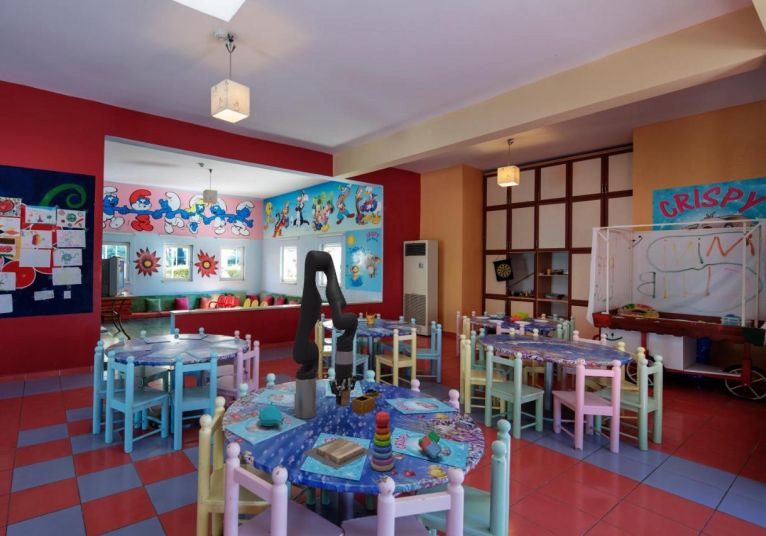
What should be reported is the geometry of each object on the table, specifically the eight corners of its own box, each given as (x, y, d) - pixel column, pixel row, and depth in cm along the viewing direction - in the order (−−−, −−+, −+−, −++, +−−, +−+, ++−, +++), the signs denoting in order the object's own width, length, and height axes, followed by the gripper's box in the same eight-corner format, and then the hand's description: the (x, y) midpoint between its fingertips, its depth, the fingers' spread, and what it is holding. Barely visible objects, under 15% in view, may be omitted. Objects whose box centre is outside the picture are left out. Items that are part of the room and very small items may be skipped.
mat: (302, 454, 148) (302, 452, 148) (339, 438, 161) (339, 437, 161) (336, 471, 136) (336, 469, 136) (373, 453, 150) (373, 451, 150)
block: (335, 404, 168) (336, 390, 168) (343, 402, 171) (343, 388, 171) (342, 407, 166) (343, 392, 166) (349, 404, 169) (350, 390, 169)
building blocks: (432, 463, 152) (434, 457, 142) (417, 446, 156) (417, 439, 146) (447, 448, 155) (449, 441, 145) (431, 431, 159) (432, 423, 149)
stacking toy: (370, 461, 144) (370, 407, 143) (392, 460, 144) (393, 407, 144) (371, 472, 136) (372, 416, 136) (395, 471, 136) (396, 415, 136)
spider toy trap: (383, 406, 199) (383, 387, 199) (362, 414, 188) (362, 394, 188) (373, 403, 203) (373, 384, 203) (351, 411, 192) (352, 391, 192)
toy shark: (269, 418, 183) (269, 394, 182) (294, 429, 171) (294, 403, 171) (249, 424, 175) (249, 399, 175) (274, 436, 163) (274, 409, 163)
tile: (316, 447, 147) (339, 458, 140) (341, 437, 156) (363, 447, 149) (316, 453, 147) (339, 464, 140) (341, 443, 156) (363, 452, 149)
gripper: (350, 356, 176) (349, 396, 176) (324, 362, 165) (323, 404, 166) (362, 360, 171) (361, 401, 171) (337, 366, 160) (335, 409, 161)
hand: (342, 402), depth 169 cm, fingers closed on block, 4 cm apart
